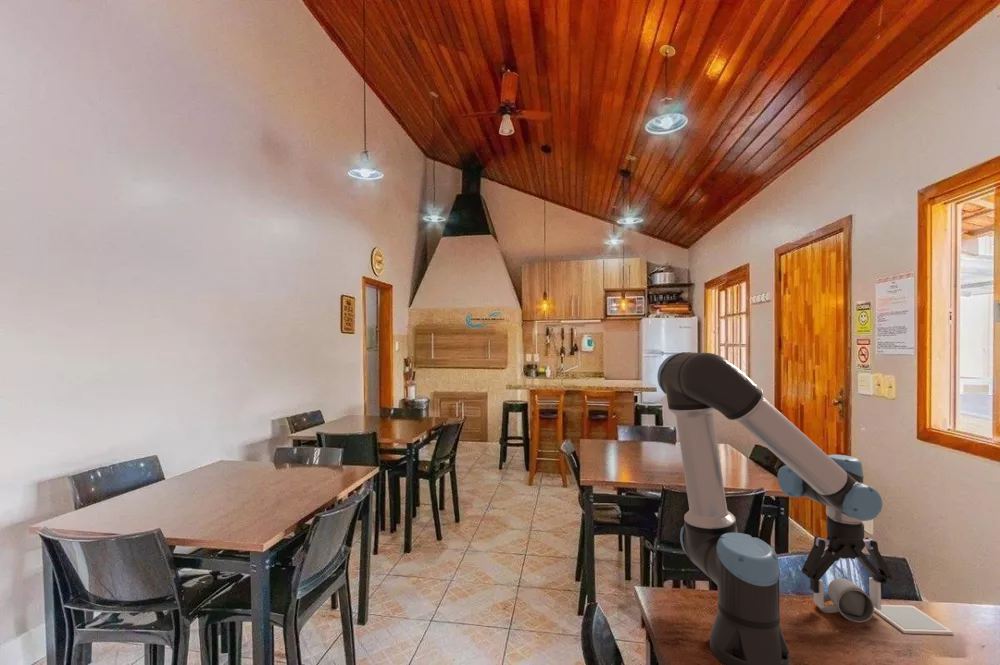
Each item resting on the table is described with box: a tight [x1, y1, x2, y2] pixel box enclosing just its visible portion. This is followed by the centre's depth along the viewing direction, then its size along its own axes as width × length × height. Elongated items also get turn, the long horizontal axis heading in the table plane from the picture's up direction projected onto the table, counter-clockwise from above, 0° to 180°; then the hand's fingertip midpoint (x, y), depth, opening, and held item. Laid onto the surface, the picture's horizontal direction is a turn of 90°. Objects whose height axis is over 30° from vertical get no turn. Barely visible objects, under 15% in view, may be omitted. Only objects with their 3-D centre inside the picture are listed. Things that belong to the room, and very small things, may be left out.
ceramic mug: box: [818, 577, 875, 624], centre depth 115 cm, size 11×8×8 cm
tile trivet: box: [874, 604, 954, 636], centre depth 111 cm, size 11×11×1 cm
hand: (847, 606), depth 114 cm, fingers open, 13 cm apart
